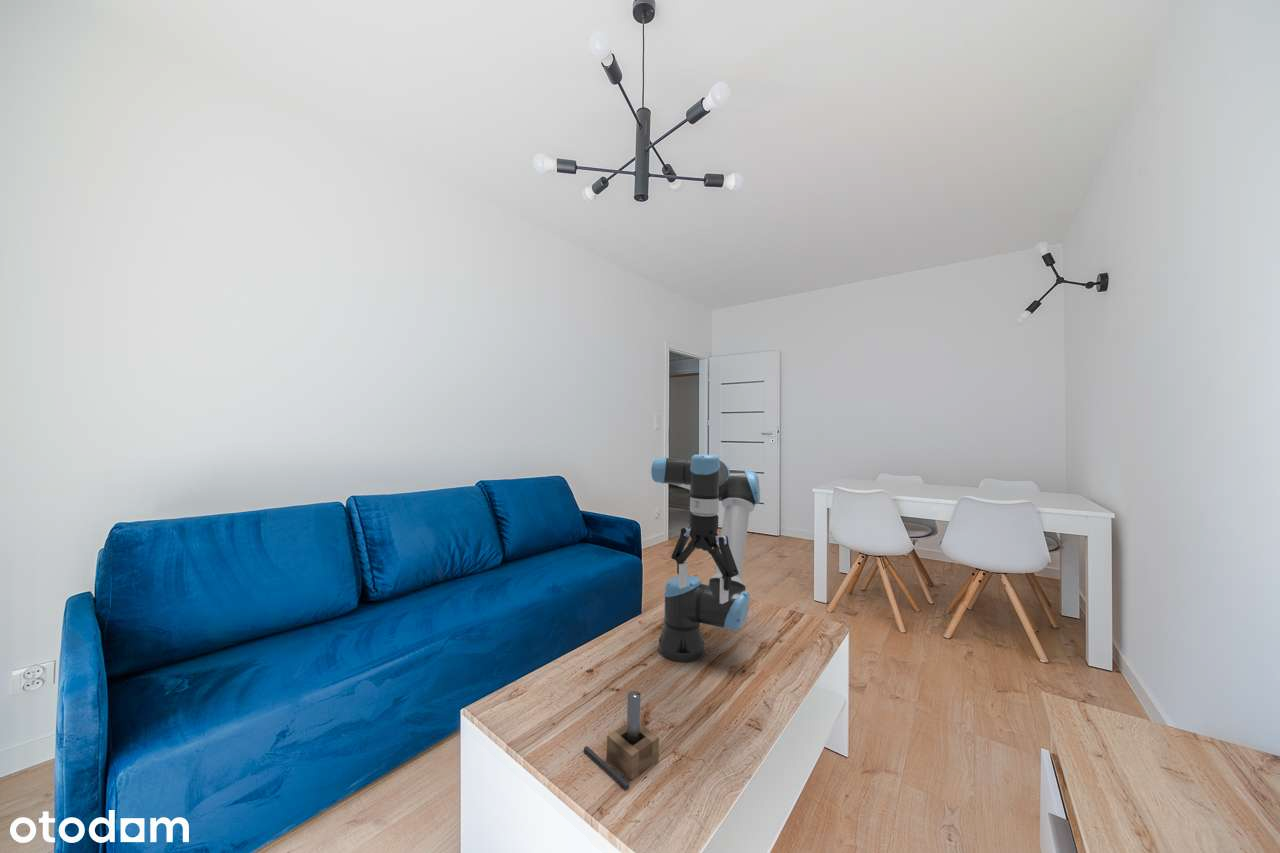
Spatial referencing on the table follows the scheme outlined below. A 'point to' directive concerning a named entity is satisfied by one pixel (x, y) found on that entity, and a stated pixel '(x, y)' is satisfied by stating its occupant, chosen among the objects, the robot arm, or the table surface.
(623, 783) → the dark grey rod
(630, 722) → the dark grey peg
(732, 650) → the table surface
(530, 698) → the table surface
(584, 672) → the table surface
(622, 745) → the bead block
